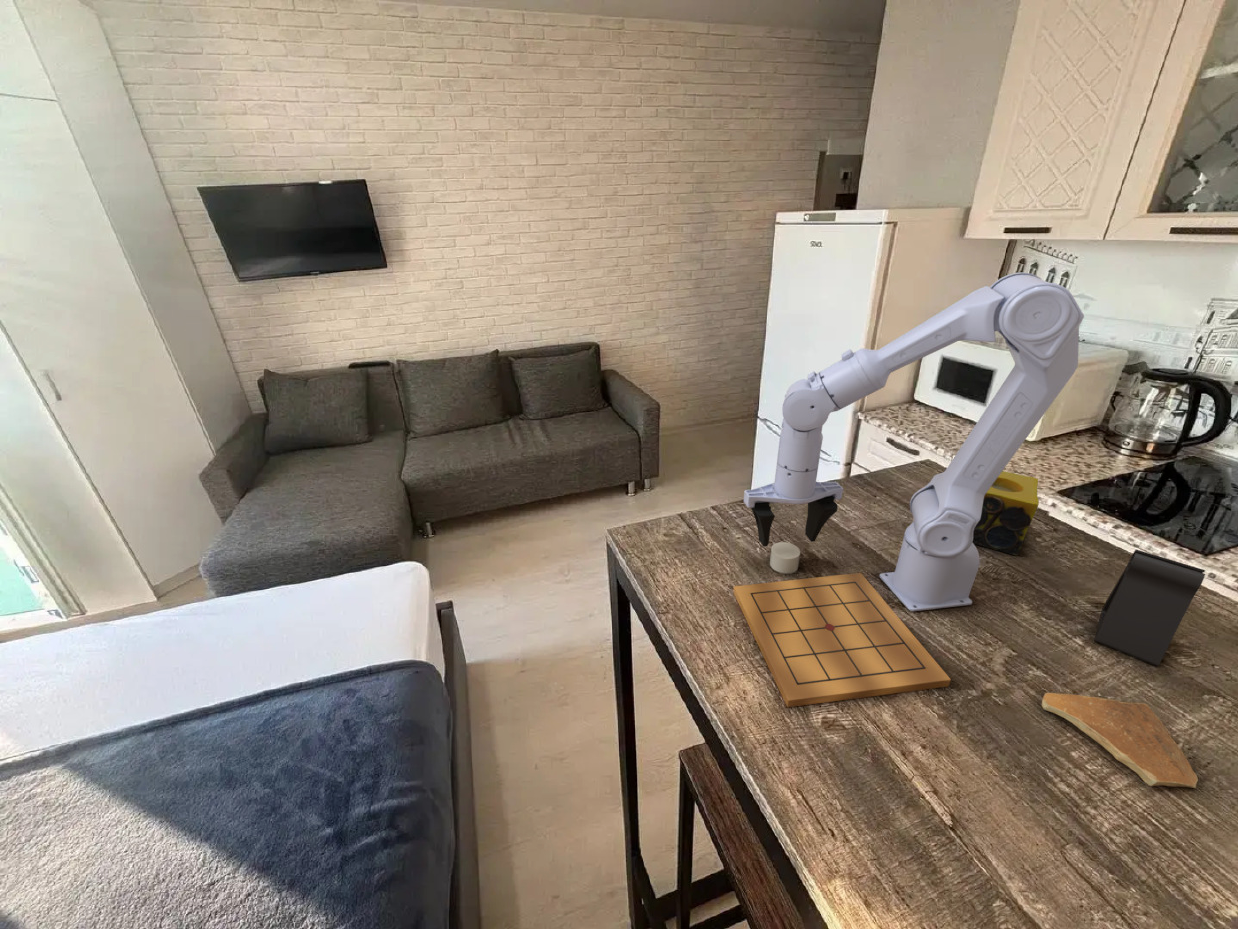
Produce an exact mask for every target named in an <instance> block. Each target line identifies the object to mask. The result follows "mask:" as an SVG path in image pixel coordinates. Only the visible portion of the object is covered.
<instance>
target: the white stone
mask: <svg viewBox="0 0 1238 929" xmlns="http://www.w3.org/2000/svg"><path fill="white" fill-rule="evenodd" d="M800 557H801V550H800V548H799V547H798V546H797V545H795V544H794V543H791V542H787V541H786V542H785V541H779V542H776V543H774V544H772V546H771V548H770V557H769V565H770V568H772V570H774V571H775V572H778V573H780V574H785V575H787V574H788V575H789V574H794V573H796V572H797V571H798V569H799V565H800Z"/></svg>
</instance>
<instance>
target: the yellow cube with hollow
mask: <svg viewBox="0 0 1238 929" xmlns="http://www.w3.org/2000/svg"><path fill="white" fill-rule="evenodd" d="M1038 485H1039V479H1038V478H1037V477H1034V476H1029V475H1023V474H1018V473H1015V472H1009V471H1005V470H1003V471H1002V472H1001V474H1000V475H999V476H998V478H997V479H996V480H995V482H994V483H993V484H992V486H991V487H990V489H989V490H988V491H987V493H986V494H985V496H984V500H983V506H982V513H981V518H980V521H979V522H978V523H977V525H976V526H975V528H974V531H973V542H972V543H973V544H974V545H975V546H980V547H984V548H988V549H991V550H994V551H1000V552H1003V553H1006V554H1009V555H1013V556H1017V555H1019V554H1020V551H1021V548H1022V547H1023V544H1024V541H1025V536H1026V534H1027V532H1028V530H1029V527H1030V525H1031V523H1032V521H1033V519H1034V517H1035V515H1036V512H1037V509H1038V507H1039V504H1040V500H1039V496H1038Z"/></svg>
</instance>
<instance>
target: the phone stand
mask: <svg viewBox="0 0 1238 929" xmlns="http://www.w3.org/2000/svg"><path fill="white" fill-rule="evenodd" d="M1205 577H1206V569H1203V568H1200V567H1196V566H1193V565H1189V564H1186V563H1184V562H1180V561H1176V560H1173V559H1170V558H1166V557H1163V556H1159V555H1156V554H1152V553H1151V552H1146V551H1143V550H1139V549H1135V550H1134V552H1133V553H1132V555H1131V557H1130V559H1129V560H1128V563H1127V564H1126V566H1125V568H1124V570H1123V571H1122V573H1121V574H1120V577H1119V579H1118V580H1117V582H1116V583H1115V585H1114V587H1113V589H1112V590H1111V592H1110V593H1109V595H1108V597H1107V598H1106V601H1105V602H1104V603H1103V606H1102V609H1101V613H1100V616H1099V620H1098V624H1097V628H1096V630H1095V631H1096V632H1095V635H1094V638H1093V639H1094V640H1093V641H1094V642H1096V643H1098V644H1100V645H1103V646H1105V647H1108V648H1110V649H1112V650H1115V651H1118V652H1120V653H1122V654H1125V655H1128V656H1130V657H1133V658H1135V659H1137V660H1140V661H1142V662H1145V663H1148V664H1150V665H1153V666H1155V667H1159V666H1160V664H1161V663H1162V661H1163V658H1164V657H1165V654H1166V652H1167V649H1168V648H1169V646H1170V644H1171V642H1172V640H1173V638H1174V636H1175V635H1176V633H1177V630H1178V629H1179V627H1180V624H1181V622H1182V621H1183V619H1184V616H1185V614H1186V613H1187V610H1188V608H1189V607H1190V605H1191V603H1192V601H1193V598H1194V597H1195V595H1196V594H1197V592H1198V591H1199V590H1200V588H1201V586H1202V583H1203V582H1204V579H1205Z"/></svg>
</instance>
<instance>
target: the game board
mask: <svg viewBox="0 0 1238 929" xmlns="http://www.w3.org/2000/svg"><path fill="white" fill-rule="evenodd" d="M733 594H734V597H735V599H736V601H737V604H738V606H739V607H740V610H741V612H742V615H743V616H744V618H745V621H746V623H747V625H748V627H749V629H750V631H751V633H752V635H753V638H754V639H755V642H756V644H757V646H758V648H759V650H760V652H761V655H762V657H763V659H764V661H765V663H766V665H767V668H768V669H769V671H770V674H771V676H772V679H773V680H774V682H775V684H776V686H777V688H778V691H779V693H780V695H781V697H782V699H783V701H784V704H785V705H786V707H787V708H791V707H793V708H794V707H800V706H801V707H802V706H808V705H817V704H823V703H824V704H825V703H832V702H838V701H839V702H841V701H846V700H854V699H863V698H869V697H870V698H871V697H879V696H886V695H892V694H894V695H895V694H901V693H908V692H915V691H923V690H932V689H939V688H946V687H949V686H950V683H951V682H952V679H951V678H950V676H949V675H948V674H947V673H946V671H945V670H944V669H943V668H942V667H941V666H940V665H939V663H938V662H937V661H936V660H935V659H934V658H933V656H932V655H931V654H930V653H929V652H928V651H927V650H926V648H925V647H924V646H923V645H922V643H921V642H920V641H919V639H917V637H916V636H915V635H914V634H913V633H912V631H911V630H910V629H909V628H908V626H906V624H905V623H904V622H903V621H902V620H901V619H900V617H899V616H898V615H897V613H896V612H895V611H894V610H893V609H892V608H891V606H890V605H889V604H888V603H887V602H886V601H885V600H884V598H883V597H882V596H881V595H880V594H879V592H878V591H877V590H876V589H875V588H874V586H872V584H871V583H870V582H869V581H868V580H867V578H866V577H865V576H864V575H863V573H862V572H854V573H845V574H838V575H837V574H836V575H835V574H834V575H826V576H818V577H809V578H808V577H807V578H799V579H789V580H780V581H771V582H763V583H753V584H745V585H744V584H743V585H734V586H733Z"/></svg>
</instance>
